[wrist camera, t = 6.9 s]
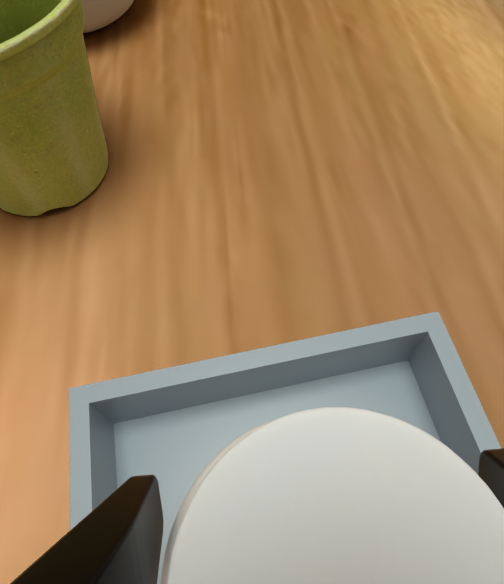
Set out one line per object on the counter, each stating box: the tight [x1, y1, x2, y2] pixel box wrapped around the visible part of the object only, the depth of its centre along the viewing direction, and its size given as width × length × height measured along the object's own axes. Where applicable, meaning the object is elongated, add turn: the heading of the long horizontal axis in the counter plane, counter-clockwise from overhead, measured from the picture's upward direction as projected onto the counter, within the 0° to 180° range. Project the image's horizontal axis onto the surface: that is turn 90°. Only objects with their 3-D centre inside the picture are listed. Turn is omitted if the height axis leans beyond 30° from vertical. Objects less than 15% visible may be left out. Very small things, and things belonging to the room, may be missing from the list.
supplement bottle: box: [161, 407, 504, 584], centre depth 9 cm, size 5×5×10 cm
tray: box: [69, 311, 501, 584], centre depth 13 cm, size 12×12×3 cm
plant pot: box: [0, 0, 108, 216], centre depth 20 cm, size 9×9×9 cm
